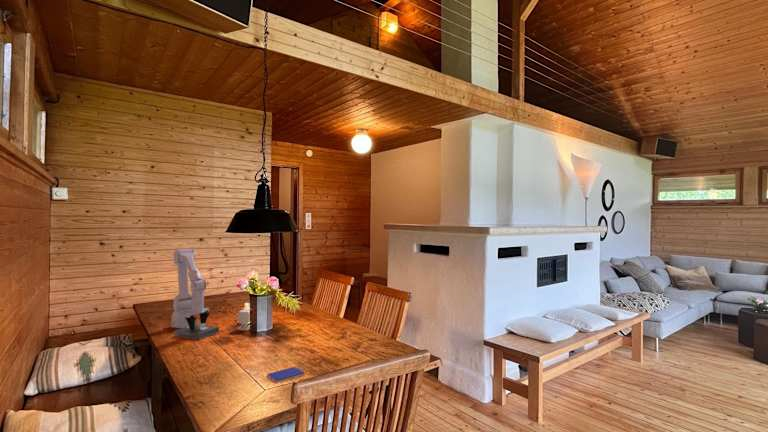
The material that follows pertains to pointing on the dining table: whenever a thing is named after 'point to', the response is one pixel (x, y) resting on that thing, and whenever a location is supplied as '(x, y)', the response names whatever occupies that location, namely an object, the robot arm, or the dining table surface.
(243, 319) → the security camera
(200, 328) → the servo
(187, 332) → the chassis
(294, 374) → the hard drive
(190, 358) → the dining table surface
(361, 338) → the dining table surface
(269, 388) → the dining table surface
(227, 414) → the dining table surface
